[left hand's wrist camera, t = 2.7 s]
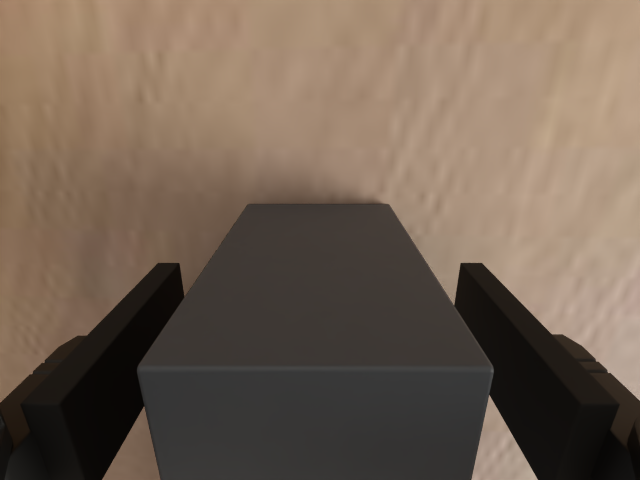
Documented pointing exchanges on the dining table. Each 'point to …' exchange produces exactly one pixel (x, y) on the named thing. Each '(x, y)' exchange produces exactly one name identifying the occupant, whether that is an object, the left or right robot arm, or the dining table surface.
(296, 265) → the bar
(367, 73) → the dining table surface
